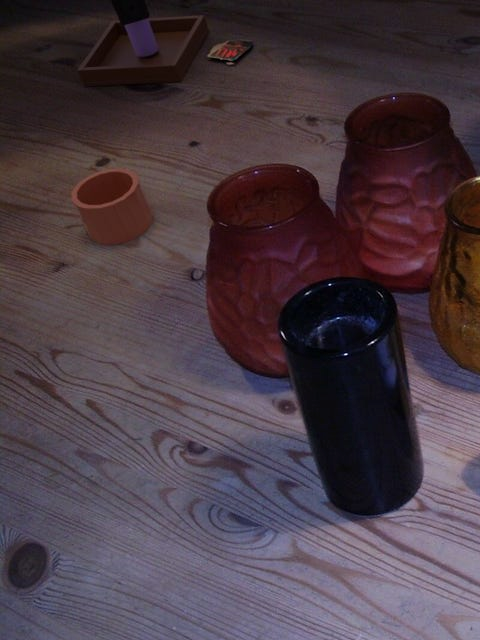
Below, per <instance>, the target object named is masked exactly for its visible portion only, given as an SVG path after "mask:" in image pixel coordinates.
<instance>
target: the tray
mask: <svg viewBox="0 0 480 640" xmlns="http://www.w3.org/2000/svg"><path fill="white" fill-rule="evenodd" d="M148 20H149V23H150V26H151V29H152V31H153V34H154V37H155V40H156V42H157V45H158V51H157V52H156V53H154V54H152V55H150V56H146V57H140V56H137V55H136V54H135V51H134V48H133V46H132V43H131V41H130V38H129V35H128V33H127V30H126V28H125V25H122V24H121V23H120V21H119V19H118V20H117V19H115V20H111V22H109V23H110V24H109V25H108V26H107V27H106V29H105V31H104V32H103V33H102V35H101V36H100V37H99V39H98V40H97V42H95V44H94V46H93V47H92V49H91V50H90V51H89V53H88V55H86V57H85V59H84V60H83V61H82V63H81V64H80V65H79V67H78V69H77V70H76V71H77V74H78V76H79V78H80V80H81V82H82V85H83V87H84V88H87V87H105V86H123V85H126V86H127V85H143V84H162V83H163V84H164V83H181V82H182V80H183V79H184V77H185V76H186V73H187V72H188V70H189V69H190V67H191V64H192V63H193V61H194V59H195V58H196V56H197V54H198V52H199V50H200V49H201V47H202V45H203V43H204V42H205V40H206V38H207V36H208V34H209V33H210V29H209V26H208V23H207V20H206V17H205V15H204V14H202V15H185V16H169V17H153V18H151V17H149V18H148Z"/></svg>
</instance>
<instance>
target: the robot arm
mask: <svg viewBox="0 0 480 640" xmlns="http://www.w3.org/2000/svg"><path fill="white" fill-rule="evenodd" d="M110 2H111V6H112V7H113V10H114V11H115V13H116V17H118V20H119V21H120V23H121V24H122V25H127V24H131V23H134V22H137V21H141V20H144V19H147V18H148V19H149V18H150V17H151V16H150V11H149V8H148V6H147V4H146V1H145V0H110Z"/></svg>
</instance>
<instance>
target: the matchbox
mask: <svg viewBox="0 0 480 640" xmlns="http://www.w3.org/2000/svg"><path fill="white" fill-rule="evenodd" d="M253 45H254V40H248V39H240V38H237V39H234V40H233V39H232V40H229V39H228V40H227V41H226V42H225V41H224V43H217V44H216V45H213V46H212V48H211V49H210V51H209V54H207V57H208V58H215V59H220V60H221V61H222V60H227V61H230V62H227V61H226V62H225V64H227V65H228V66H230V65H232V66H233V65H235V66H236V63H234V62H232V61H234V60H237V59H238V58H239V57H240V56H242V54H243V53H245V54H246V55H247V52H246V51H248V50H249V49H250V48H251V47H252V46H253Z"/></svg>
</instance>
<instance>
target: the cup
mask: <svg viewBox="0 0 480 640" xmlns="http://www.w3.org/2000/svg"><path fill="white" fill-rule="evenodd" d="M147 197H148V196H147V195H146V192H145V190H144V188H143V185H142V183H141V180H140V178H139V176H138V175H137V174H136V173H135V172H134V171H133V170H130V169H126V168H123V167H121V168H108V169H107V168H106V169H103V170H100V171H97V172H94V173H93V174H91V175H87V177H84V178H83V179H82V180H81V181H80V182H79V183H77V184H76V185H75V186H74V187H73V190H72V191H71V202H72V204H73V206H74V208H75V210H76V212H77V214H78V216H79V219H80V221H81V223H82V224H83V227H84V229H85V231H86V233H87V235H88V237H90V239H91V241H93V242H94V243H96V244H98V245H102V246H116V245H122V244H125V243H129V242H131V241H134V240H135V239H138V238H139V237H140V236H142V235H144V234H145V233H146V232H147V231H148V230H149V229H150V228H151V226H152V225H153V222H154V219H155V218H154V212H153V209H152V206H151V205H150V202H149V200H148V198H147Z"/></svg>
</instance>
